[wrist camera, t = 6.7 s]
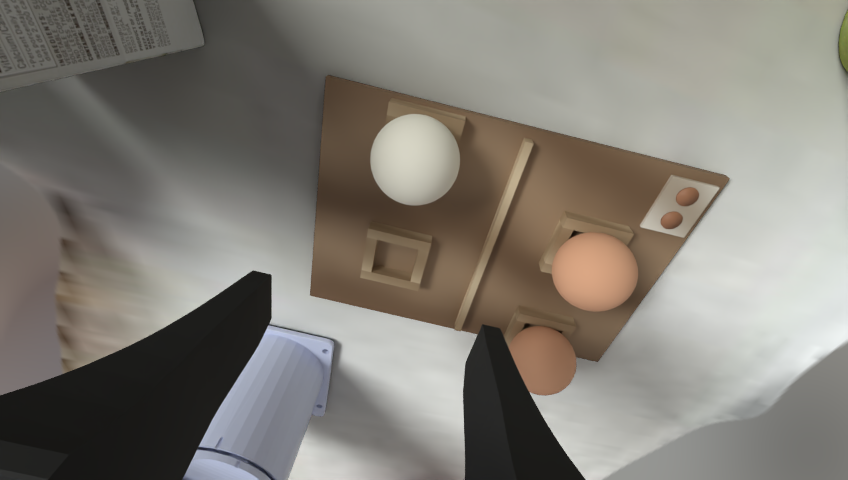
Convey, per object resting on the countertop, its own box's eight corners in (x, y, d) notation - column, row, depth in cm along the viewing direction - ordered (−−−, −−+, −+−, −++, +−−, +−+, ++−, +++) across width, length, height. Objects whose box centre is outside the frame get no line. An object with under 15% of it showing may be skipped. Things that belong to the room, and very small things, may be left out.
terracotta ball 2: (599, 282, 23) (623, 335, 19) (534, 267, 22) (546, 318, 19) (636, 226, 20) (670, 277, 17) (564, 209, 20) (584, 257, 17)
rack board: (594, 360, 27) (598, 374, 26) (311, 294, 26) (305, 306, 25) (725, 175, 19) (739, 185, 18) (328, 75, 18) (320, 80, 17)
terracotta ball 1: (553, 361, 26) (565, 415, 23) (496, 348, 26) (500, 401, 23) (579, 320, 24) (596, 374, 21) (517, 306, 24) (524, 357, 21)
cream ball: (449, 191, 20) (445, 231, 17) (374, 172, 20) (355, 209, 17) (470, 115, 18) (470, 144, 15) (386, 94, 18) (367, 118, 15)
